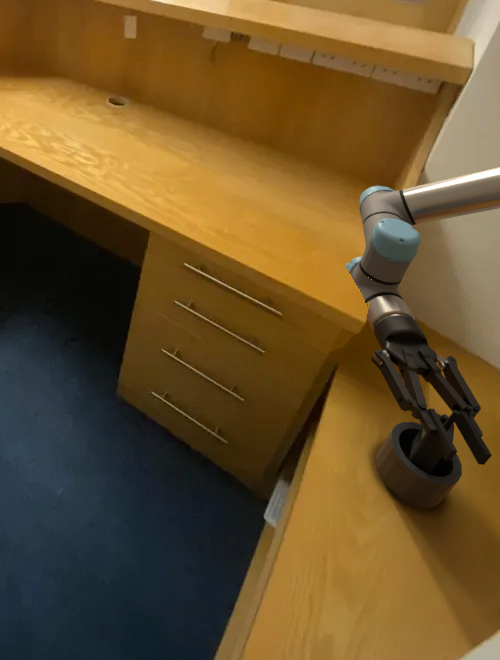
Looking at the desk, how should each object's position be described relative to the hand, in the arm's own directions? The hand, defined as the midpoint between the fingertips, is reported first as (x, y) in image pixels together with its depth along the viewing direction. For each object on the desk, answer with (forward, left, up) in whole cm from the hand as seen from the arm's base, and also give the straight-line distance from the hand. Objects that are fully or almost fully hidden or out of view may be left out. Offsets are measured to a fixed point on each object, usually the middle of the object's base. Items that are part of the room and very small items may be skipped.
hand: (467, 457), depth 75 cm
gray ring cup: (+1, -5, -17) cm, 18 cm away
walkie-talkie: (+1, -5, -11) cm, 12 cm away
